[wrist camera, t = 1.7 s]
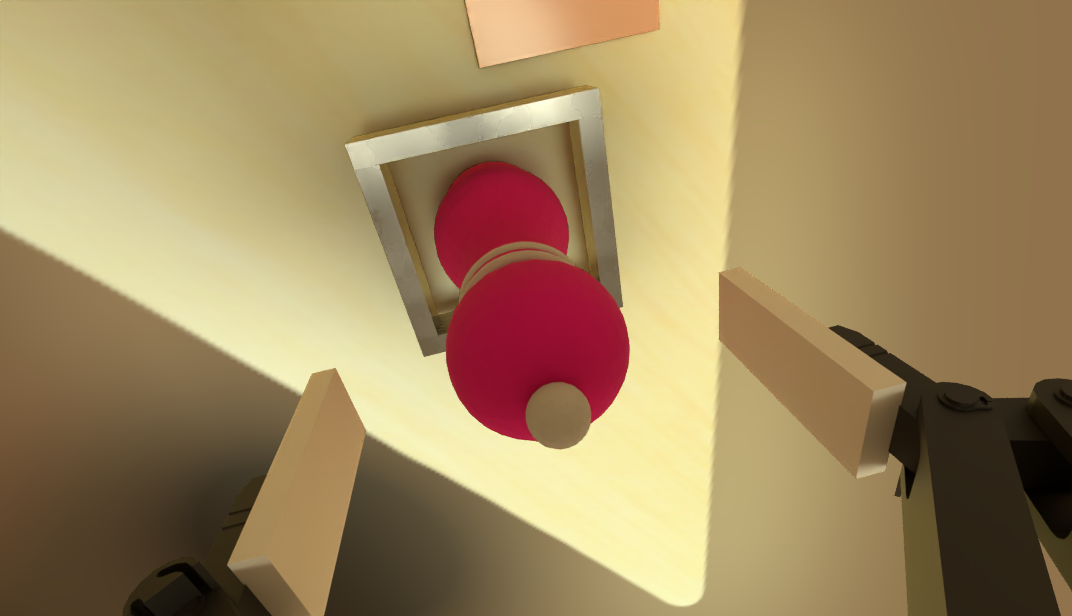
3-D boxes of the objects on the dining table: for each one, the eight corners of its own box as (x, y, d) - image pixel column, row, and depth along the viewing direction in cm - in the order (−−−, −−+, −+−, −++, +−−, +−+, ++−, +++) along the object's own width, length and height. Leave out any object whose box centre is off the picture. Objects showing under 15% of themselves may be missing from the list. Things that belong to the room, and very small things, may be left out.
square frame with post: (360, 131, 26) (322, 163, 18) (576, 83, 27) (630, 94, 19) (450, 386, 35) (451, 481, 27) (610, 344, 36) (656, 426, 28)
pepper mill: (554, 152, 28) (727, 304, 11) (549, 264, 32) (675, 516, 14) (431, 152, 27) (404, 322, 10) (439, 268, 30) (431, 549, 13)
